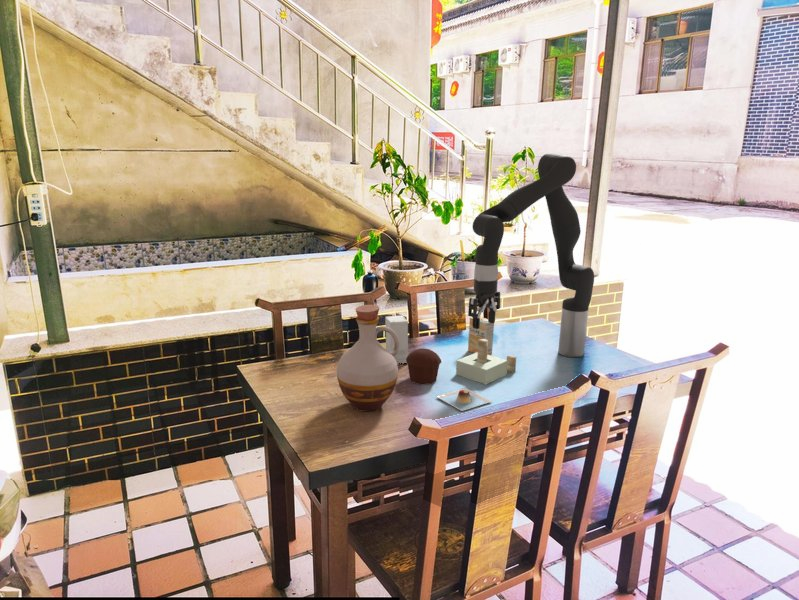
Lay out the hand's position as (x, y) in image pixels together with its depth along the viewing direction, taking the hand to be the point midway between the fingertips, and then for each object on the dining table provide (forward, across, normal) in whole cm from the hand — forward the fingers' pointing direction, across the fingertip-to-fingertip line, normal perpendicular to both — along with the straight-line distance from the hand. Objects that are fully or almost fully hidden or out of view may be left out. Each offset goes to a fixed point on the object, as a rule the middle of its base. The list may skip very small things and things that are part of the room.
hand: (483, 325), depth 197 cm
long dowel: (+17, 0, 0) cm, 17 cm away
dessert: (+18, +21, +9) cm, 29 cm away
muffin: (+17, +17, -11) cm, 27 cm away
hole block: (+17, 0, 0) cm, 17 cm away
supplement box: (+18, -17, -13) cm, 27 cm away
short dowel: (+17, -10, +5) cm, 21 cm away
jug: (+17, +43, -9) cm, 47 cm away
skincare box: (+17, +11, -29) cm, 36 cm away
